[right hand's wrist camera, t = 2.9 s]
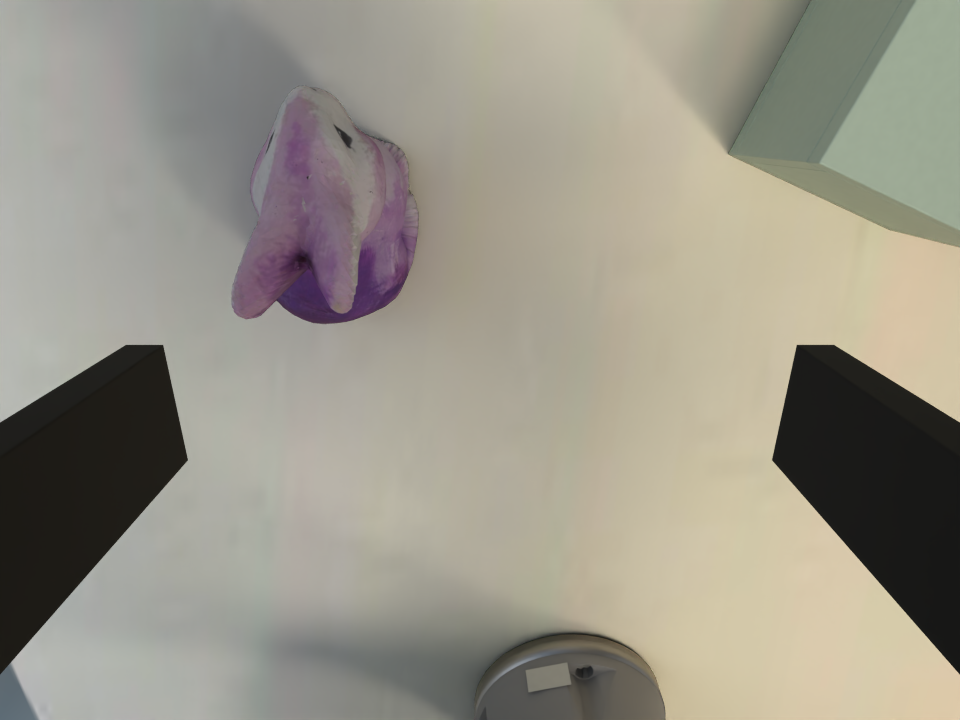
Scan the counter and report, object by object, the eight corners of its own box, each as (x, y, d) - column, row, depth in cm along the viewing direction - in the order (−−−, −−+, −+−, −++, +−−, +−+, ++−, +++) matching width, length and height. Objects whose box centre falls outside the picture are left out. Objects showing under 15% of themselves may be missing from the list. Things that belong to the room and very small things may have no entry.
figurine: (376, 84, 31) (292, 48, 17) (463, 255, 34) (451, 341, 21) (230, 166, 33) (44, 195, 19) (327, 322, 36) (230, 445, 22)
